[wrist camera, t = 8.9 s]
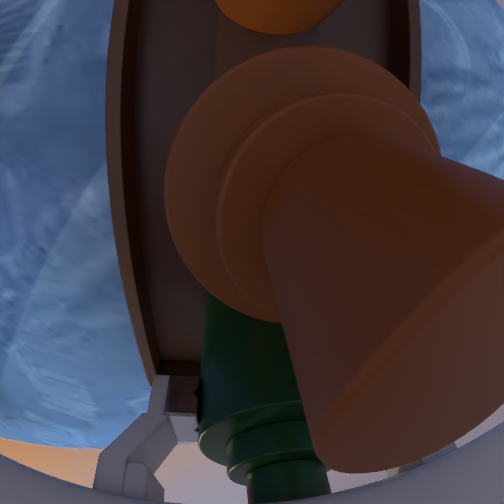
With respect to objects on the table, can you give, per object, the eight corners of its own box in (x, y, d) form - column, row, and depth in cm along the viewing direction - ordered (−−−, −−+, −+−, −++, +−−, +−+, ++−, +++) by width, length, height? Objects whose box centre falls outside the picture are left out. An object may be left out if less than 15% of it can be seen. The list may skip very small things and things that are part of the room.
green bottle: (202, 261, 12) (184, 547, 3) (314, 261, 13) (430, 500, 3) (207, 345, 14) (207, 556, 5) (300, 342, 15) (355, 537, 5)
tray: (149, -74, 5) (139, -95, 4) (388, -49, 7) (408, -64, 5) (154, 359, 16) (149, 386, 14) (341, 354, 17) (351, 379, 15)
